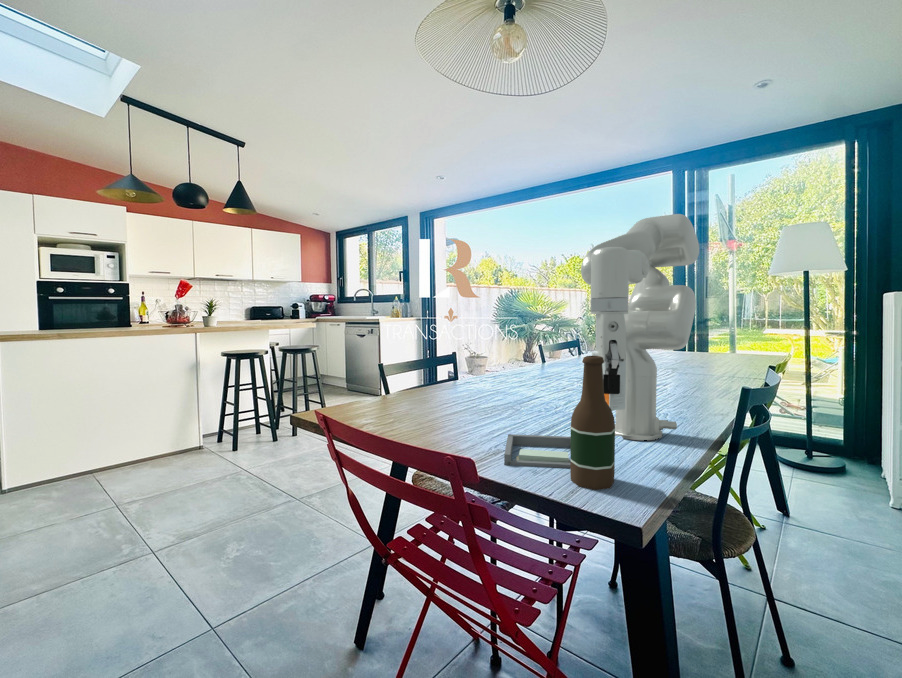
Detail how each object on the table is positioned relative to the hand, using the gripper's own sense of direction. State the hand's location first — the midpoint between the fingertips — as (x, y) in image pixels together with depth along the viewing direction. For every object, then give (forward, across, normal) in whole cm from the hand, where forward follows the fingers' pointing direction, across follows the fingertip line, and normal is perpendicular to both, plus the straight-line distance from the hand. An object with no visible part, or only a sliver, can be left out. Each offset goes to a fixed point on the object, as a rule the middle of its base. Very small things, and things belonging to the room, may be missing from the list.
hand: (608, 389), depth 93 cm
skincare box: (+4, 0, 0) cm, 4 cm away
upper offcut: (+14, -5, +14) cm, 20 cm away
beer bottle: (+15, -15, +5) cm, 22 cm away
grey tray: (+15, -2, +14) cm, 21 cm away
